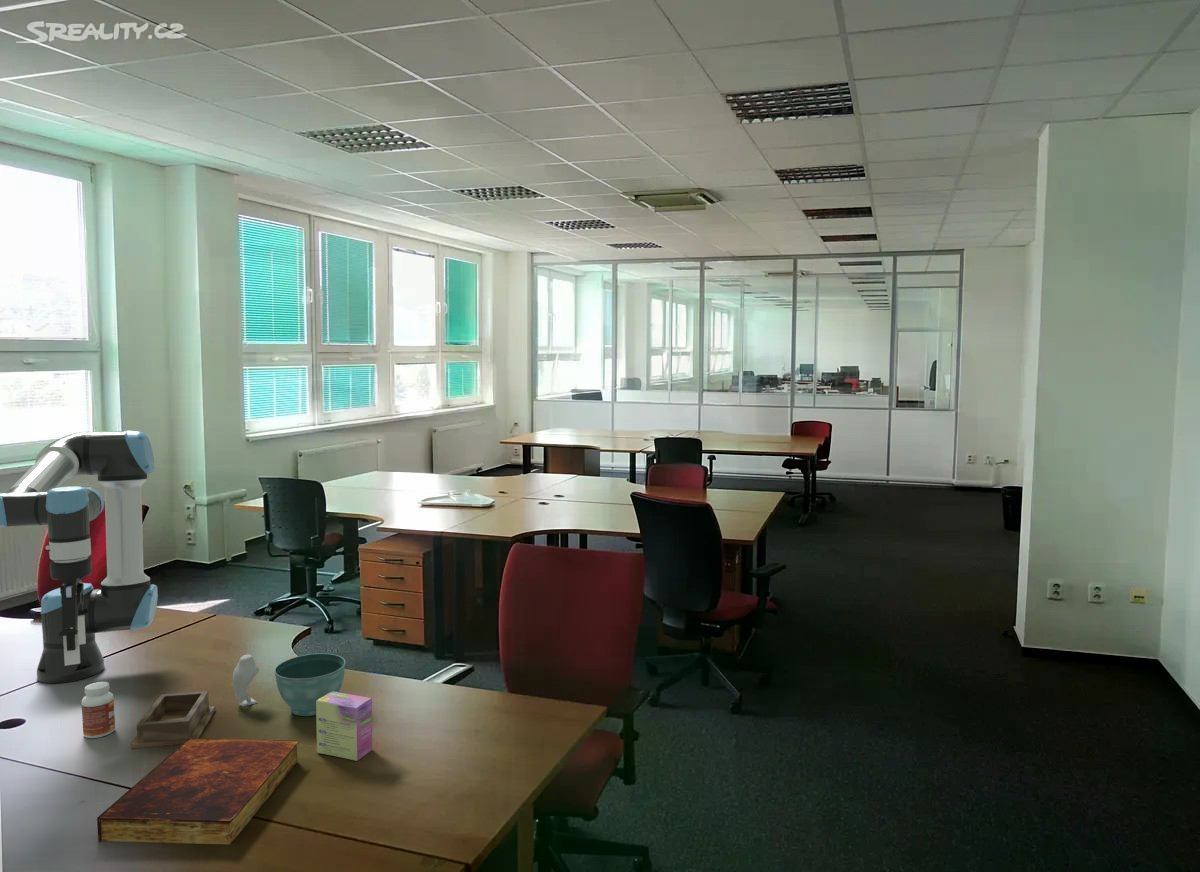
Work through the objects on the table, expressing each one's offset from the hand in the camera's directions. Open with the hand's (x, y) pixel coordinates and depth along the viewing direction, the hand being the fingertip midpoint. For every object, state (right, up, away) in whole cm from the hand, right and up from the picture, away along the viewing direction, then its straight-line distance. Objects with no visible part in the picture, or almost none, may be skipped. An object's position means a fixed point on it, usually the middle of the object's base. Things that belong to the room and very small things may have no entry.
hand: (75, 654), depth 176 cm
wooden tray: (+18, -19, +8) cm, 27 cm away
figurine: (+28, -18, +21) cm, 40 cm away
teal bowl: (+45, -19, +19) cm, 52 cm away
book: (+39, -23, -21) cm, 50 cm away
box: (+60, -21, -2) cm, 63 cm away
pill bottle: (+2, -20, +6) cm, 20 cm away
